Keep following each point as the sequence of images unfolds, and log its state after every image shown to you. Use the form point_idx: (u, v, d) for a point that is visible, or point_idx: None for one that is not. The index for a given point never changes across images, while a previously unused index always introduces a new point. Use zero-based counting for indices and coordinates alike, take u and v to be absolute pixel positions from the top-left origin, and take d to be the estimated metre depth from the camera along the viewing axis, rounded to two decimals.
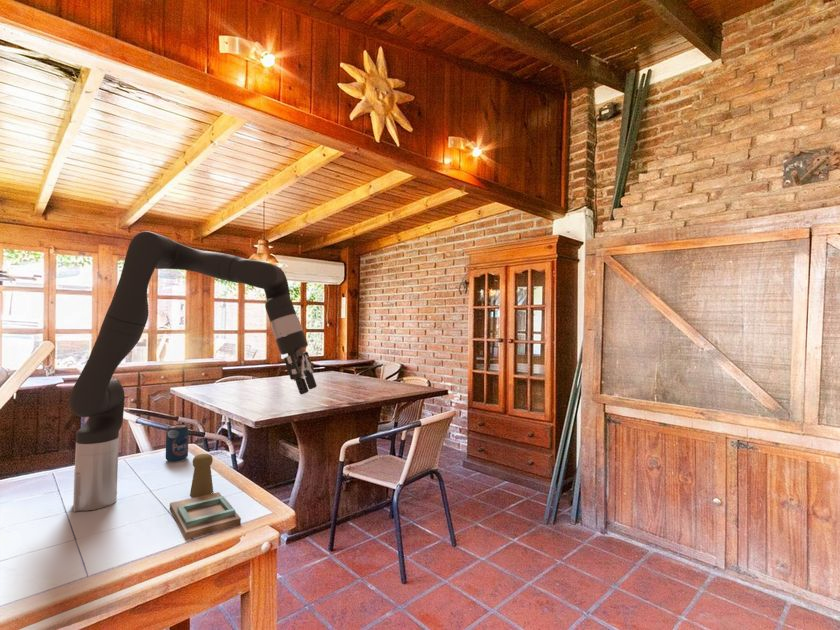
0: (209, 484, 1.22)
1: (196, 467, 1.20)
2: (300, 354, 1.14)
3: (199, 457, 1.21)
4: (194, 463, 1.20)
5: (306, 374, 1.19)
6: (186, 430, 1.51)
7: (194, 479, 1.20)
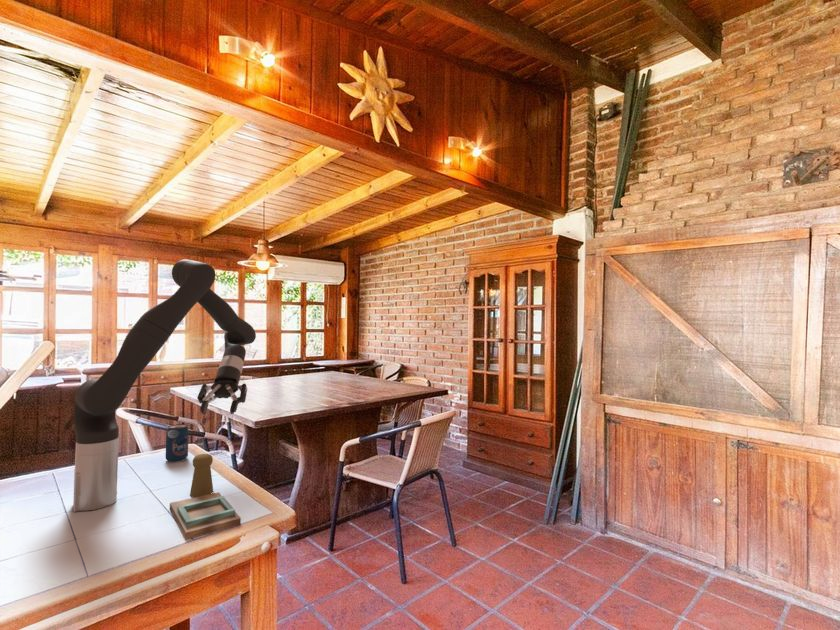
0: (209, 484, 1.22)
1: (196, 467, 1.20)
2: None
3: (199, 457, 1.21)
4: (194, 463, 1.20)
5: (206, 400, 1.36)
6: (186, 430, 1.51)
7: (194, 479, 1.20)
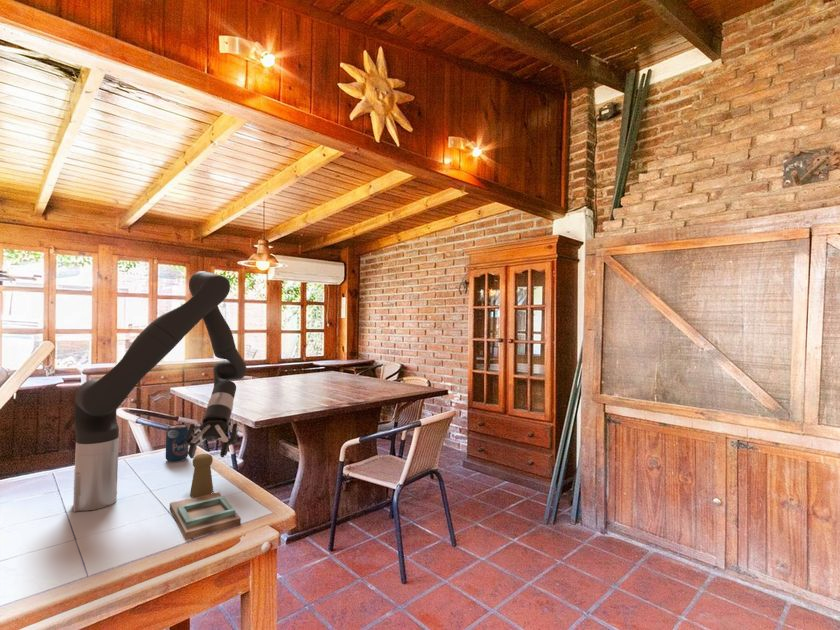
0: (209, 484, 1.22)
1: (196, 467, 1.20)
2: None
3: (199, 457, 1.21)
4: (194, 463, 1.20)
5: (195, 443, 1.28)
6: (186, 430, 1.51)
7: (194, 479, 1.20)
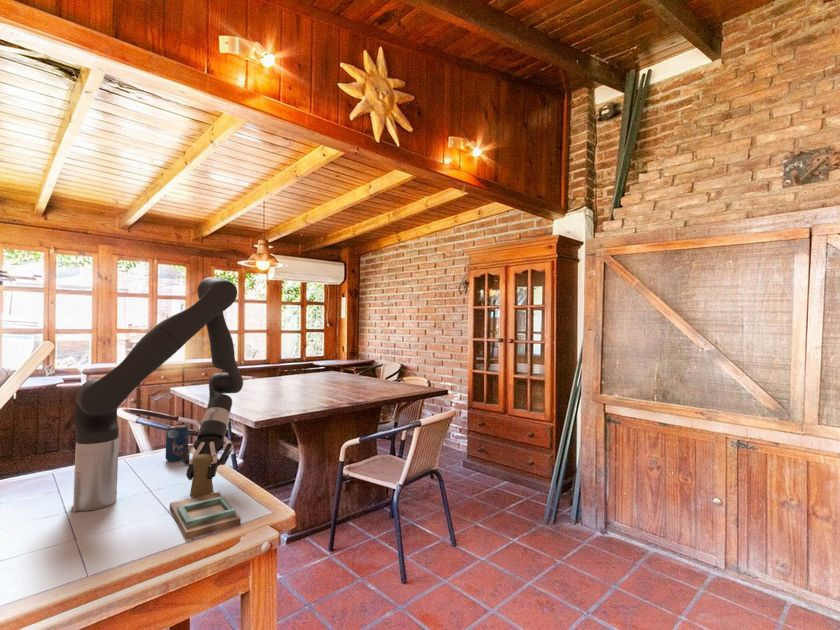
0: (209, 484, 1.22)
1: (196, 467, 1.20)
2: None
3: (198, 457, 1.21)
4: (194, 463, 1.20)
5: None
6: (186, 430, 1.51)
7: (194, 479, 1.20)
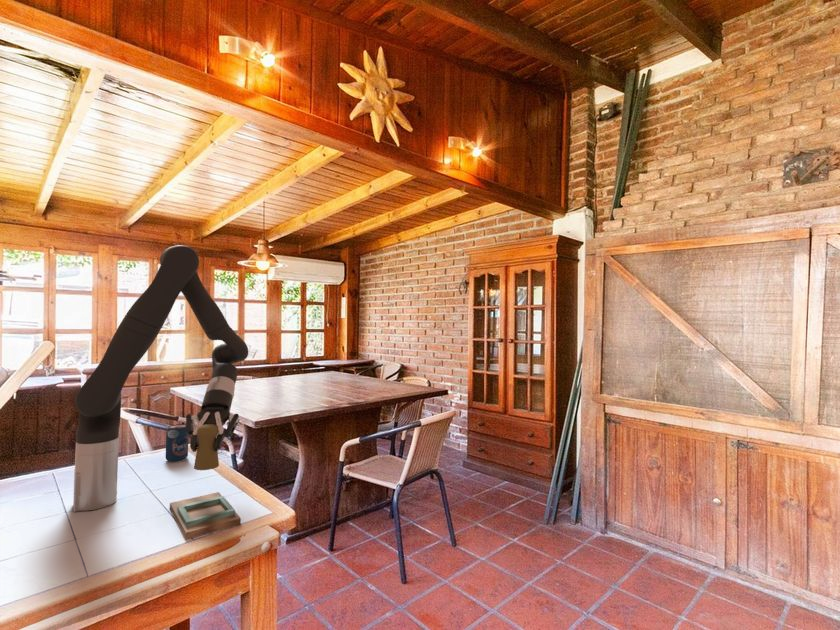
0: (215, 456, 1.13)
1: (201, 438, 1.11)
2: None
3: (204, 427, 1.12)
4: (199, 433, 1.11)
5: None
6: None
7: (199, 451, 1.11)
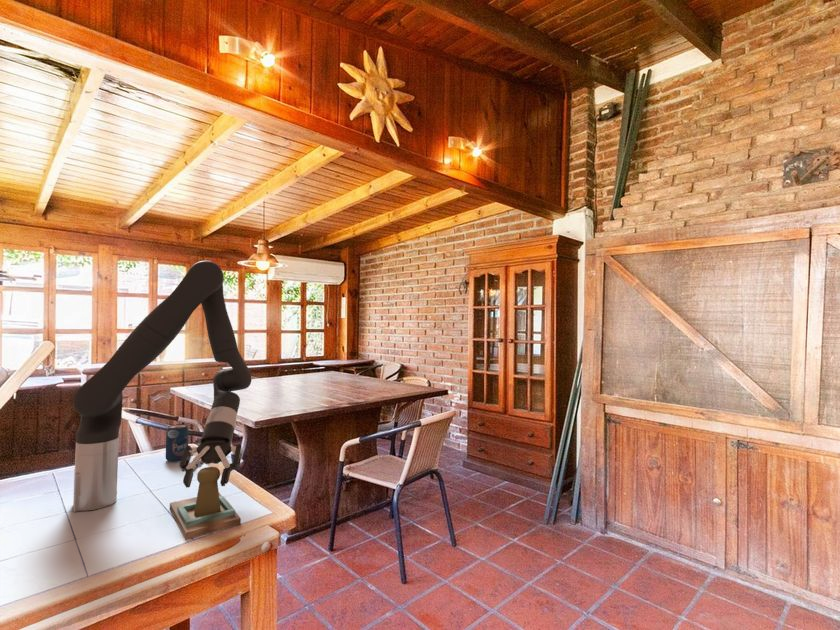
0: (216, 502, 1.06)
1: (201, 483, 1.05)
2: None
3: (204, 471, 1.05)
4: (199, 478, 1.05)
5: (191, 468, 1.07)
6: (186, 430, 1.51)
7: (199, 496, 1.05)
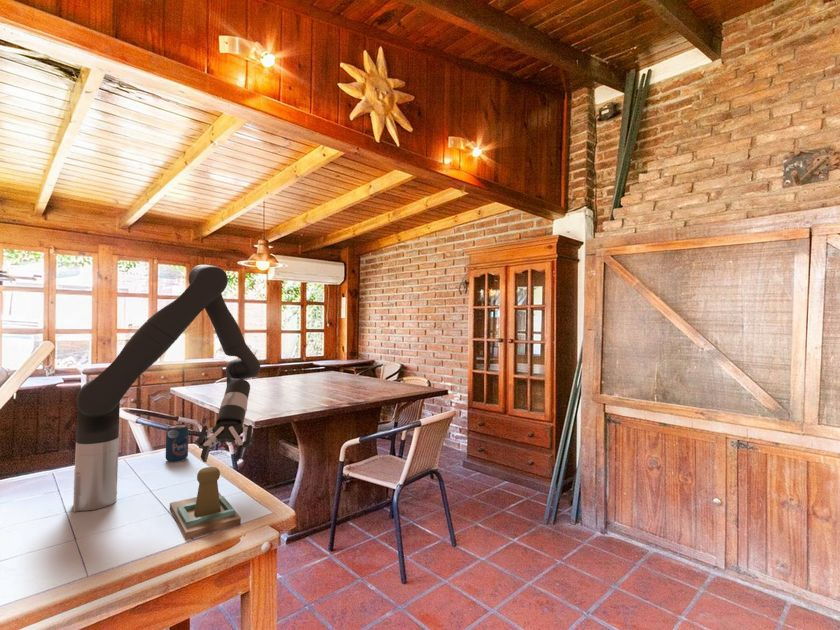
0: (216, 502, 1.06)
1: (201, 483, 1.05)
2: None
3: (204, 471, 1.05)
4: (199, 478, 1.05)
5: (208, 446, 1.20)
6: (186, 430, 1.51)
7: (199, 496, 1.05)
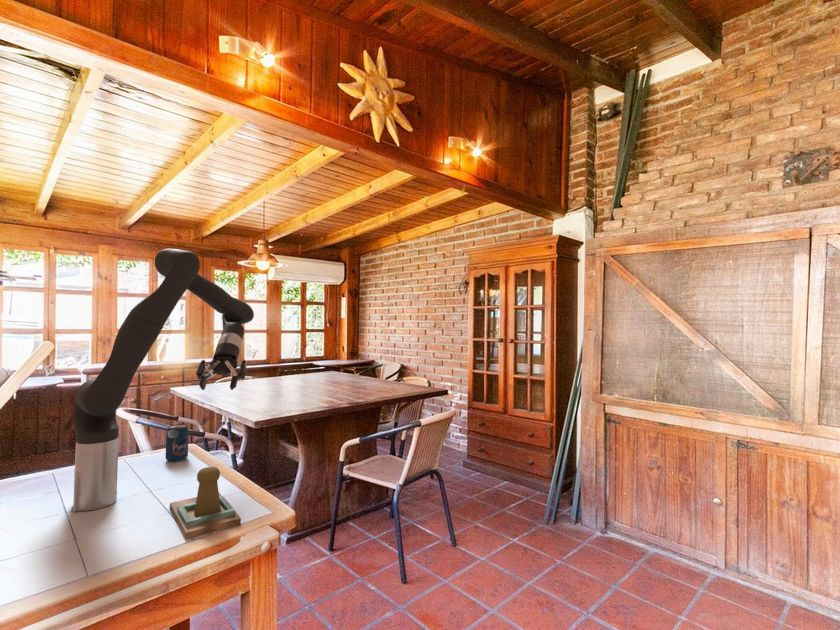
0: (216, 502, 1.06)
1: (201, 483, 1.05)
2: None
3: (204, 471, 1.05)
4: (199, 478, 1.05)
5: (205, 376, 1.34)
6: (186, 430, 1.51)
7: (199, 496, 1.05)
